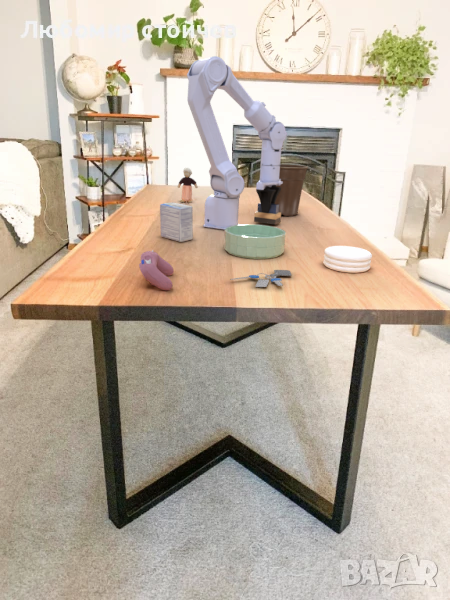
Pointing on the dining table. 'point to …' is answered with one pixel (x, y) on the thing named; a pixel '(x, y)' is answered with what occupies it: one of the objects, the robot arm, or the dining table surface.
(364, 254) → the white round stacked piece
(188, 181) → the grandmother figurine
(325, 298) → the dining table surface
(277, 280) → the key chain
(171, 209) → the medicine box
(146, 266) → the pink curved piece
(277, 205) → the brush
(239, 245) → the bowl
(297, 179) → the plant pot
